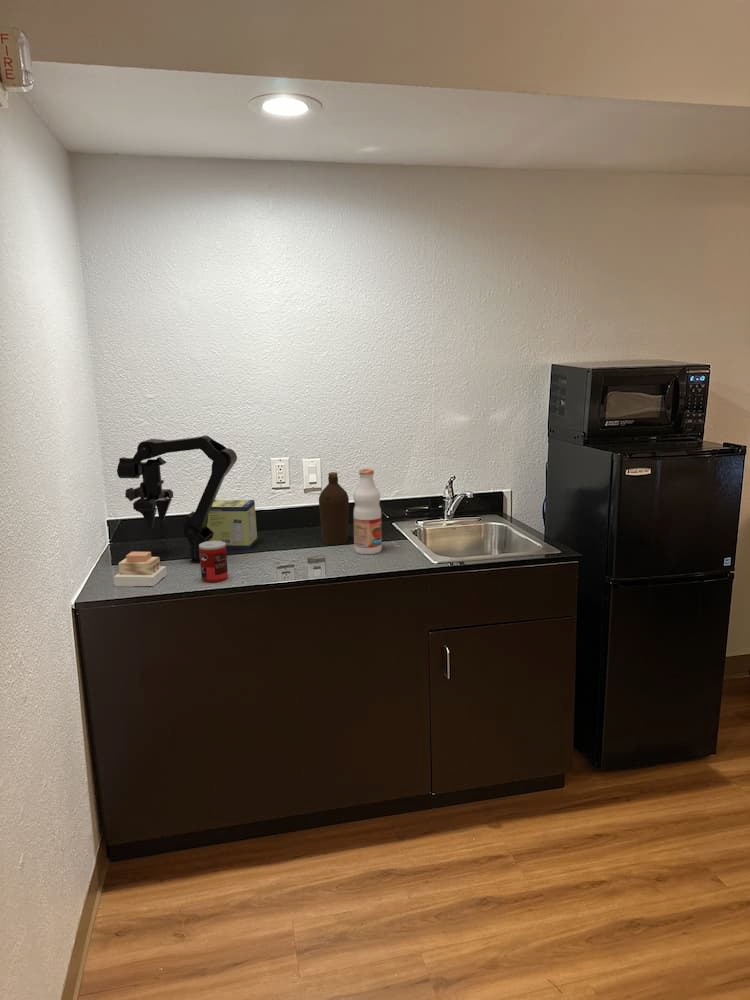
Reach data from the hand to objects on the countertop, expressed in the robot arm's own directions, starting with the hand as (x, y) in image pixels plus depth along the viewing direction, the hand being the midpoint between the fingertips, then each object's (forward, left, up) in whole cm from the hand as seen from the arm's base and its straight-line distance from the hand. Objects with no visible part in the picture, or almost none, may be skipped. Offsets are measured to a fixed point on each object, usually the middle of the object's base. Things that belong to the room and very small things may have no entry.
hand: (156, 524), depth 225 cm
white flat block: (-3, +21, -12) cm, 24 cm away
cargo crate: (-3, +21, -5) cm, 22 cm away
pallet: (-3, +21, -9) cm, 23 cm away
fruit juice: (-69, -12, -12) cm, 71 cm away
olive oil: (-56, -23, -12) cm, 62 cm away
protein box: (-20, -17, -12) cm, 29 cm away
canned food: (-25, +18, -12) cm, 33 cm away
